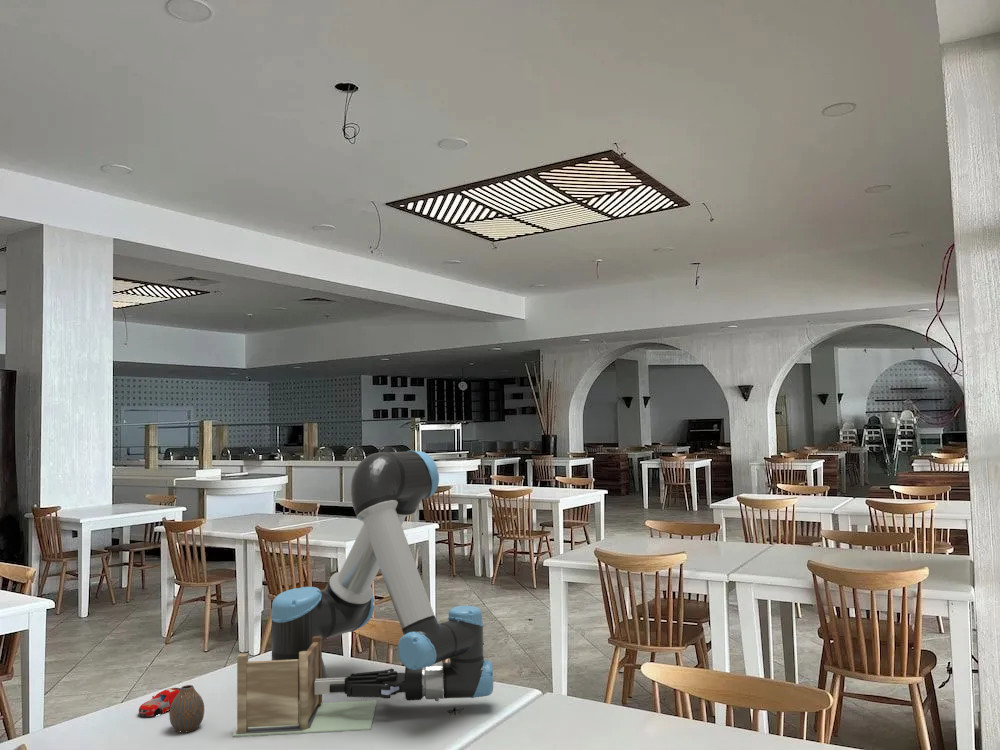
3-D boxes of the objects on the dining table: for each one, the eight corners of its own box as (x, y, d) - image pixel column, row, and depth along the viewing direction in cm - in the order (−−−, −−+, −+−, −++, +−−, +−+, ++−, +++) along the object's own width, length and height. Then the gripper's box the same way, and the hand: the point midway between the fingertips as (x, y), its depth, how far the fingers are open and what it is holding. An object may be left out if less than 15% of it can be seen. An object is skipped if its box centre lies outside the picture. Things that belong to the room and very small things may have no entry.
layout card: (252, 707, 178) (252, 706, 178) (376, 701, 180) (376, 699, 180) (232, 737, 161) (232, 735, 161) (370, 729, 163) (370, 727, 163)
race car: (148, 721, 172) (149, 702, 172) (132, 717, 174) (133, 699, 175) (198, 702, 183) (198, 684, 183) (182, 698, 186) (182, 681, 186)
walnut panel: (309, 724, 165) (309, 652, 166) (300, 724, 165) (300, 652, 166) (322, 702, 178) (321, 635, 179) (314, 702, 178) (313, 636, 179)
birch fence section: (239, 730, 164) (239, 653, 165) (308, 726, 165) (308, 650, 166) (237, 733, 162) (237, 656, 163) (307, 729, 163) (307, 653, 164)
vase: (183, 737, 161) (183, 694, 162) (162, 731, 165) (162, 688, 165) (211, 726, 167) (211, 684, 168) (190, 720, 171) (190, 679, 171)
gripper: (422, 709, 166) (310, 715, 165) (424, 688, 180) (320, 693, 178) (422, 673, 167) (309, 679, 165) (423, 655, 181) (320, 660, 179)
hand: (315, 686), depth 172 cm, fingers closed
